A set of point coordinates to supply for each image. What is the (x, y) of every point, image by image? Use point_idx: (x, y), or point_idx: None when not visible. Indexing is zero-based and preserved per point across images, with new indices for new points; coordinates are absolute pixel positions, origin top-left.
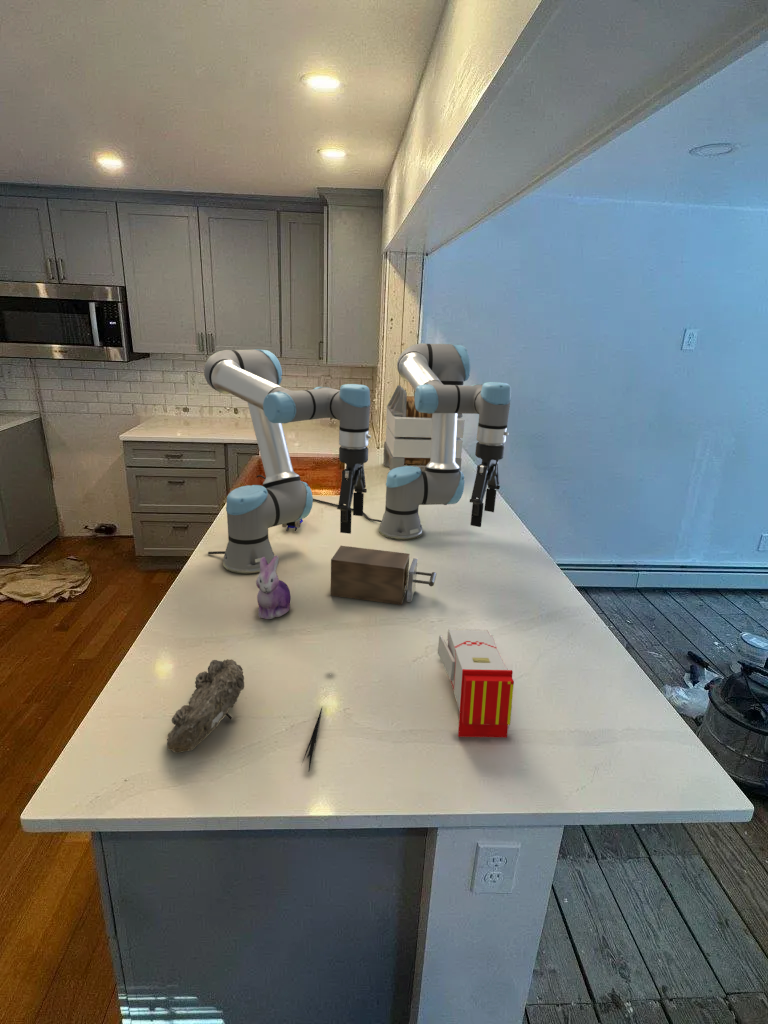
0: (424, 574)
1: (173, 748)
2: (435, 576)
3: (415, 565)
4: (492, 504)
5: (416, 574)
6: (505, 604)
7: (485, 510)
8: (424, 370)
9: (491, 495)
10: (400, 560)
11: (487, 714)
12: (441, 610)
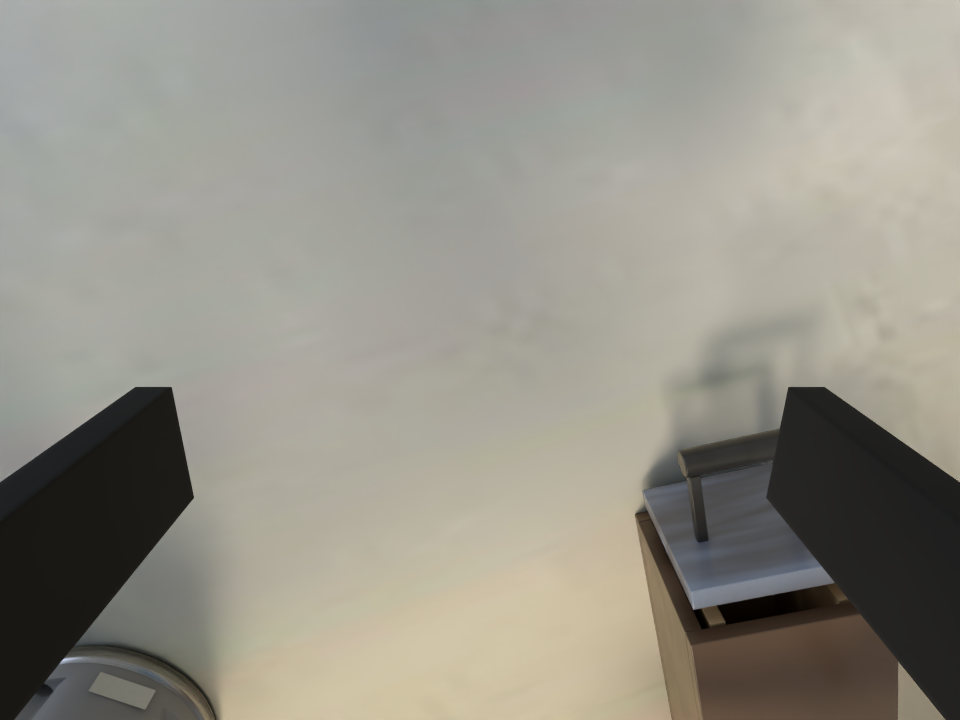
0: (702, 500)
1: None
2: (720, 448)
3: (778, 572)
4: (109, 465)
5: (664, 530)
6: (590, 57)
7: (187, 486)
8: None
9: (7, 601)
10: (799, 652)
11: None
12: (773, 330)
